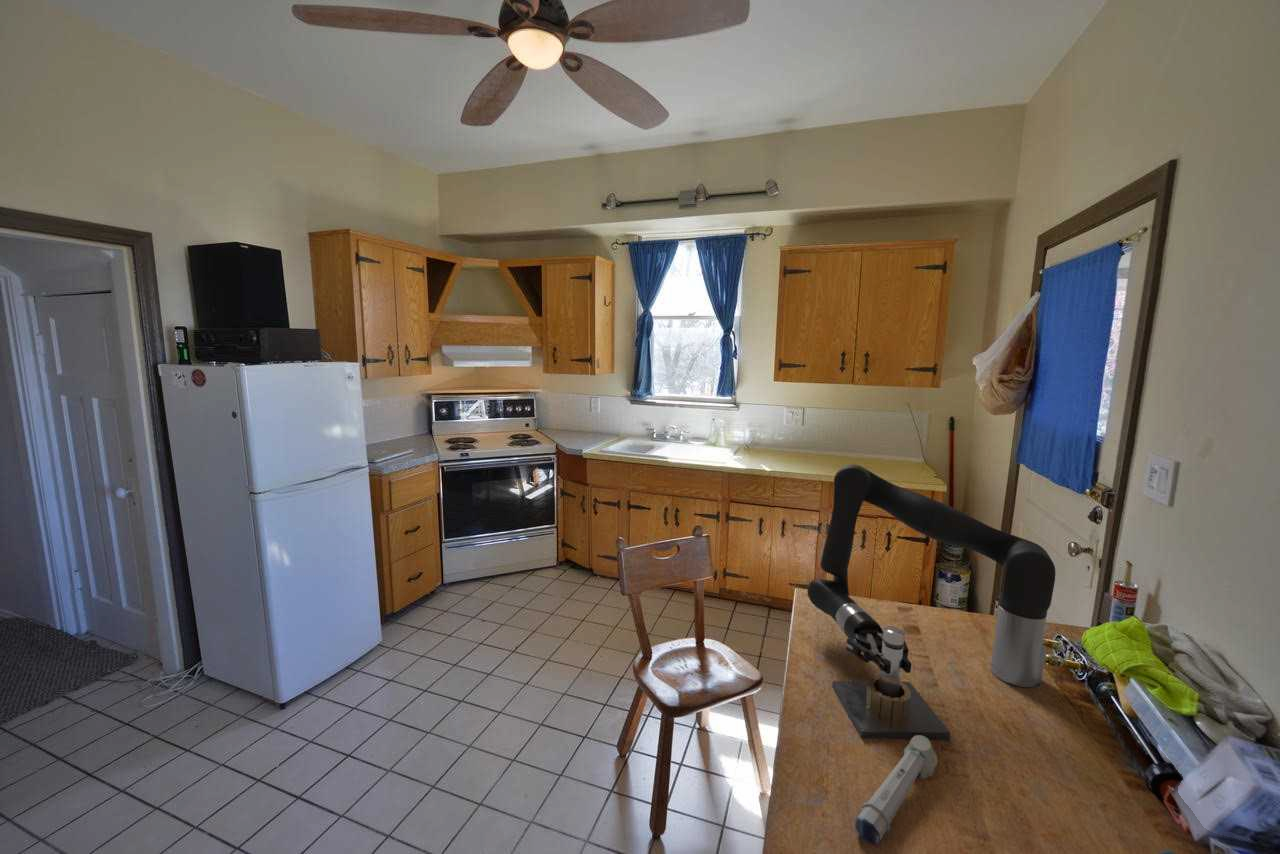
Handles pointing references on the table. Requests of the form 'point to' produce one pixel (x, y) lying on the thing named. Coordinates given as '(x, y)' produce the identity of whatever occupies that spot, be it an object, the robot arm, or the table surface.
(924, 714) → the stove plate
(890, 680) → the silver tall cylinder
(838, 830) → the table surface
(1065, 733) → the table surface
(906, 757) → the grey faceted piece
